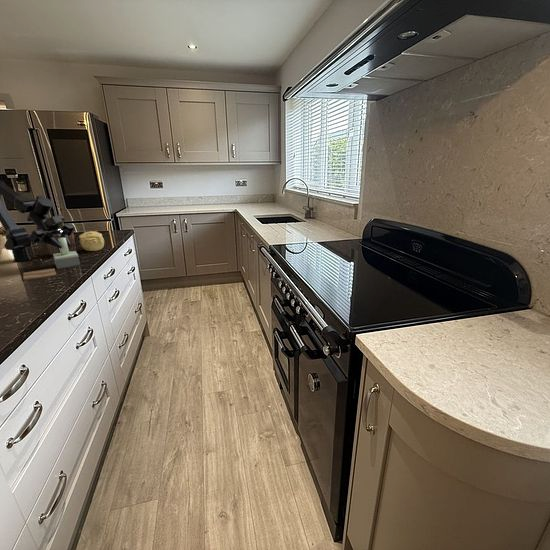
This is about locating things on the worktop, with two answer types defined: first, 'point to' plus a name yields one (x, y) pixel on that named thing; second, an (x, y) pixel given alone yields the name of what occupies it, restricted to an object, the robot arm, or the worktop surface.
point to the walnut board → (39, 274)
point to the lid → (64, 250)
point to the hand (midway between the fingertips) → (65, 246)
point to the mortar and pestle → (71, 238)
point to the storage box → (67, 262)
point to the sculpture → (92, 241)
